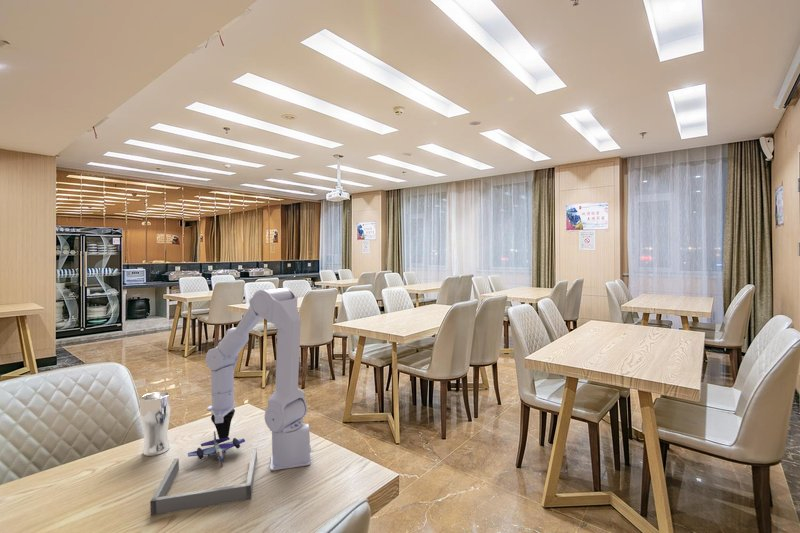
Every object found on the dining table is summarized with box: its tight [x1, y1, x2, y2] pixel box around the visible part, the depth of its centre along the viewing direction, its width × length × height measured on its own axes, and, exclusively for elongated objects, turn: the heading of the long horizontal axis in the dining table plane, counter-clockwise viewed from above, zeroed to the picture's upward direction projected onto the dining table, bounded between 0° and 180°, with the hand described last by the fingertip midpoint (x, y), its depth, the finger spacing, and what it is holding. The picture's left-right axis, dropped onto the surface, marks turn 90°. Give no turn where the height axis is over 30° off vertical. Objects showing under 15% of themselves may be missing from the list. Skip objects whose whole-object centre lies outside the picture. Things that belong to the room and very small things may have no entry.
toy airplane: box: [187, 431, 246, 468], centre depth 102 cm, size 13×14×4 cm
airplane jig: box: [150, 447, 258, 516], centre depth 90 cm, size 19×17×3 cm
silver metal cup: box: [139, 391, 171, 457], centre depth 106 cm, size 7×7×15 cm
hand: (223, 438), depth 110 cm, fingers closed
